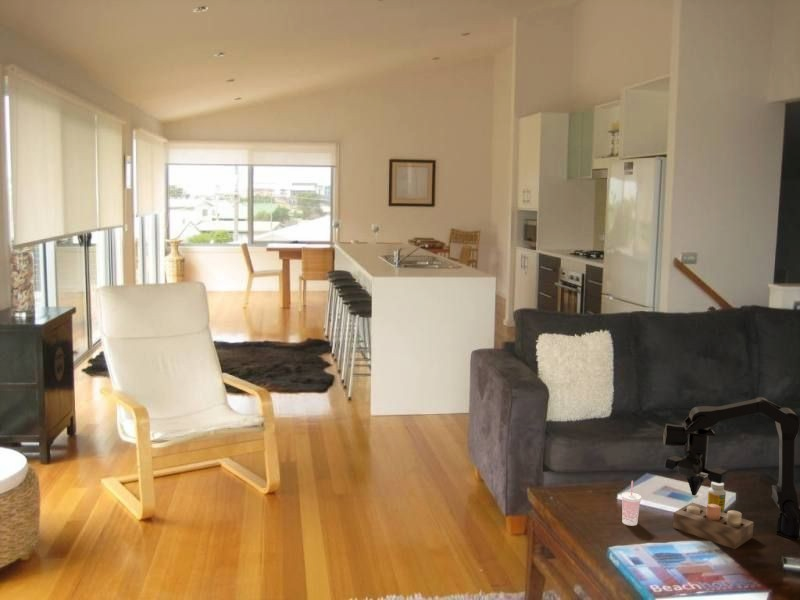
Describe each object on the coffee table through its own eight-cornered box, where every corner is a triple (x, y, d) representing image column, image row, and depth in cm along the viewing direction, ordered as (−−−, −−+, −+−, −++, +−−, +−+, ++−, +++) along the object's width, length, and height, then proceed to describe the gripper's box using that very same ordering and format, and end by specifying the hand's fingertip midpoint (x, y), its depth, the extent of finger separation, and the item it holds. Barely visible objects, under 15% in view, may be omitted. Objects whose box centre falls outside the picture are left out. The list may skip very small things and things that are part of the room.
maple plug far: (701, 523, 255) (702, 508, 255) (695, 527, 253) (696, 512, 252) (689, 519, 258) (690, 504, 257) (683, 522, 255) (684, 508, 255)
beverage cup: (640, 527, 254) (643, 485, 251) (620, 525, 255) (623, 483, 253) (638, 519, 260) (641, 478, 257) (619, 517, 261) (621, 476, 259)
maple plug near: (742, 528, 245) (743, 513, 245) (736, 532, 243) (738, 516, 242) (729, 524, 248) (731, 509, 248) (723, 528, 246) (725, 512, 245)
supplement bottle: (711, 506, 271) (713, 479, 270) (727, 511, 267) (729, 483, 266) (704, 510, 267) (706, 483, 266) (719, 515, 264) (722, 487, 262)
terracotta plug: (722, 522, 250) (723, 506, 249) (716, 525, 247) (717, 510, 247) (709, 517, 253) (710, 502, 252) (703, 521, 250) (704, 506, 250)
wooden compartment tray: (752, 537, 248) (753, 522, 247) (734, 549, 240) (736, 533, 239) (691, 516, 262) (692, 502, 261) (672, 527, 254) (673, 512, 253)
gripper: (657, 445, 253) (653, 492, 255) (714, 461, 239) (710, 511, 242) (674, 438, 260) (671, 484, 263) (731, 453, 247) (727, 501, 249)
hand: (694, 495), depth 254 cm, fingers closed
